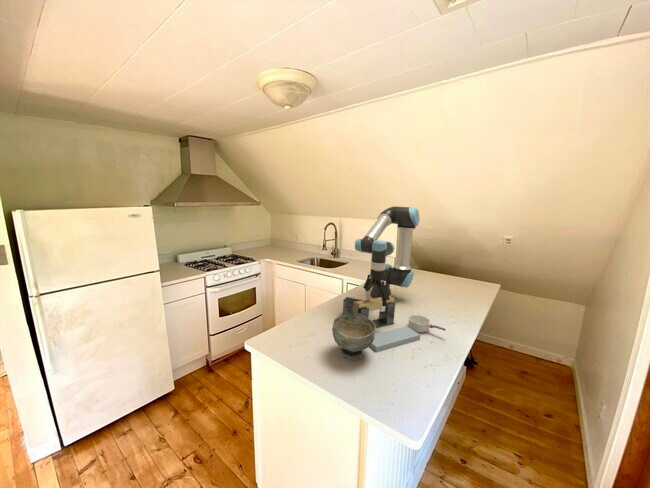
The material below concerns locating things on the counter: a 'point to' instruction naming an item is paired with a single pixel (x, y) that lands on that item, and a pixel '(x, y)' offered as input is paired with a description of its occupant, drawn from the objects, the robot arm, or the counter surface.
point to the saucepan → (421, 323)
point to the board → (394, 338)
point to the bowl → (353, 334)
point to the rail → (371, 304)
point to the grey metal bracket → (381, 315)
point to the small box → (349, 305)
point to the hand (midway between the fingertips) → (374, 306)
